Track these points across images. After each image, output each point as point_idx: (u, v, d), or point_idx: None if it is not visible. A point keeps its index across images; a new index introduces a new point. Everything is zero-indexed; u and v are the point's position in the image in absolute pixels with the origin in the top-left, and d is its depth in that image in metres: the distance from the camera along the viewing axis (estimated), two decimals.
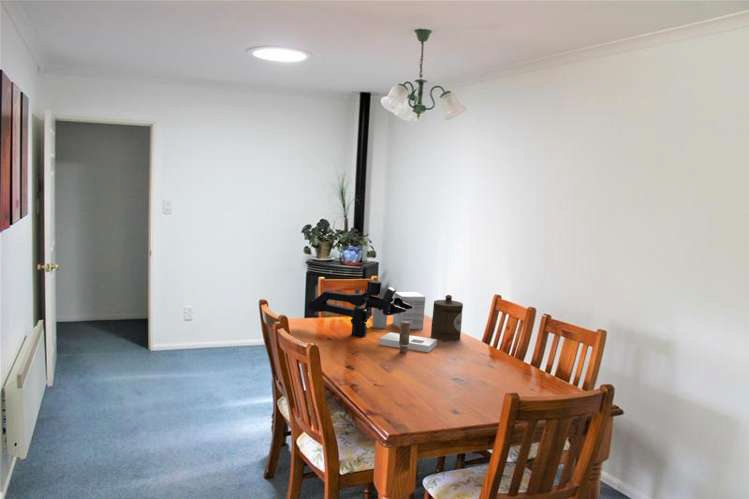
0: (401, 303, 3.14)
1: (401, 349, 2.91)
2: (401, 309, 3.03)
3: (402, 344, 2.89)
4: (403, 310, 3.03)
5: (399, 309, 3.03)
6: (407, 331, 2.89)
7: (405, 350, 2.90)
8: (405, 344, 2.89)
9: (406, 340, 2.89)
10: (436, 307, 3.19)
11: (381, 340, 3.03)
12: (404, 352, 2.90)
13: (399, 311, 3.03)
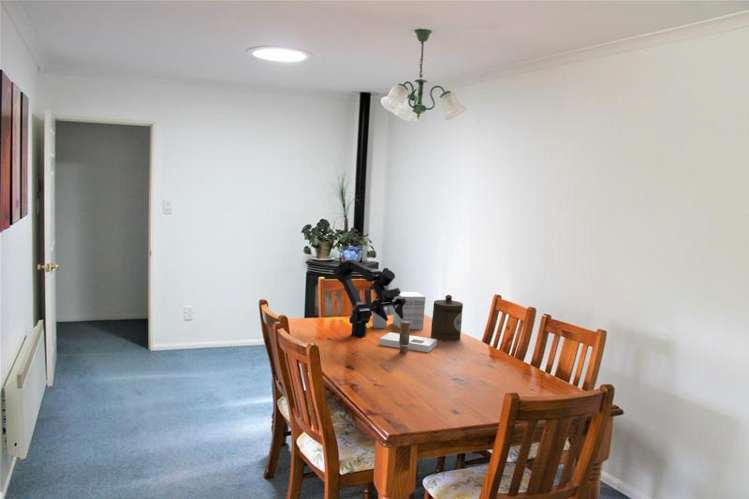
0: (398, 307, 3.02)
1: (401, 349, 2.91)
2: (384, 316, 2.94)
3: (402, 344, 2.89)
4: (385, 318, 2.94)
5: (383, 315, 2.94)
6: (407, 331, 2.89)
7: (405, 350, 2.90)
8: (405, 344, 2.89)
9: (406, 340, 2.89)
10: (436, 307, 3.19)
11: (381, 340, 3.03)
12: (404, 352, 2.90)
13: (382, 316, 2.95)
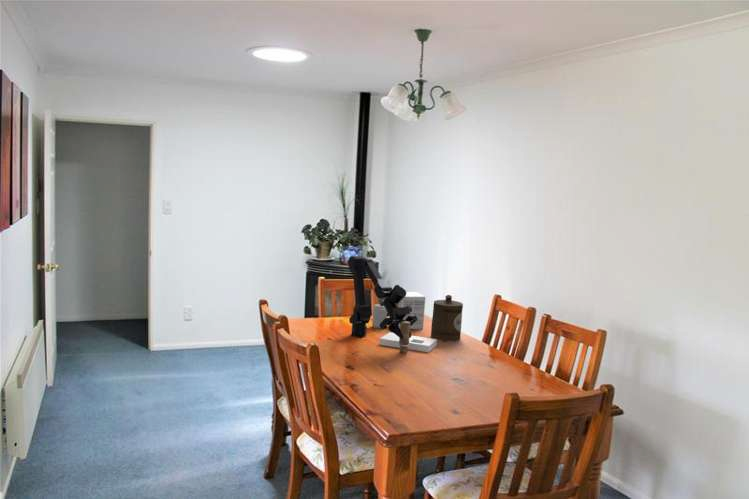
0: None
1: (401, 349, 2.91)
2: (399, 334, 2.89)
3: (402, 344, 2.89)
4: (400, 336, 2.89)
5: (398, 333, 2.89)
6: (407, 331, 2.89)
7: (405, 350, 2.90)
8: (405, 344, 2.89)
9: (406, 340, 2.89)
10: (436, 307, 3.19)
11: (381, 340, 3.03)
12: (404, 352, 2.90)
13: (397, 334, 2.90)
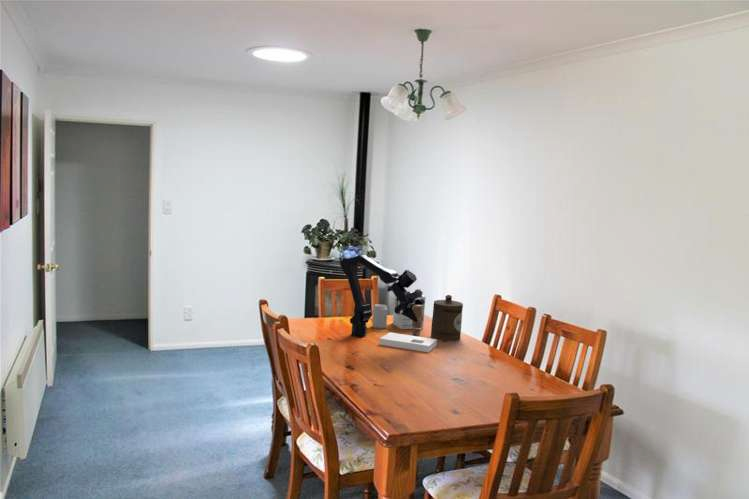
0: None
1: (415, 332, 2.98)
2: (414, 318, 2.96)
3: (416, 327, 2.97)
4: (414, 320, 2.96)
5: (412, 316, 2.96)
6: (421, 314, 2.97)
7: (418, 333, 2.98)
8: (419, 327, 2.97)
9: (420, 323, 2.97)
10: (436, 307, 3.19)
11: (381, 340, 3.03)
12: (418, 335, 2.98)
13: (411, 317, 2.96)
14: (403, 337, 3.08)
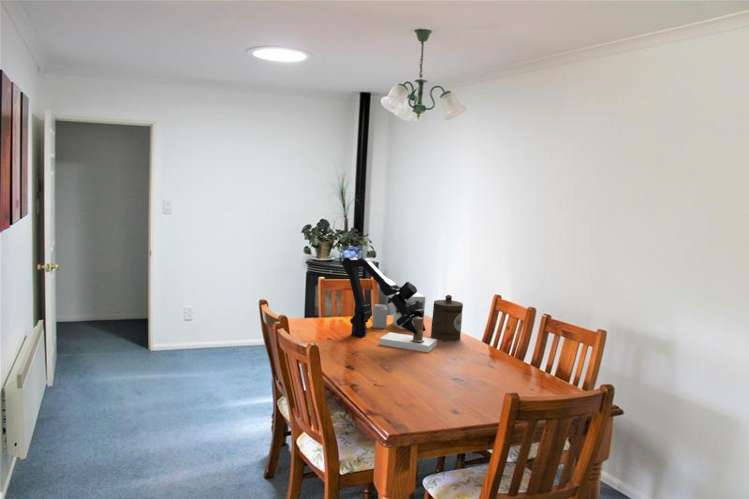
0: None
1: None
2: (413, 330, 2.97)
3: (418, 339, 3.00)
4: (414, 332, 2.97)
5: (412, 328, 2.97)
6: (422, 326, 3.00)
7: None
8: (420, 339, 3.00)
9: (421, 335, 3.00)
10: (436, 307, 3.19)
11: (381, 340, 3.03)
12: None
13: (411, 330, 2.97)
14: (403, 337, 3.08)
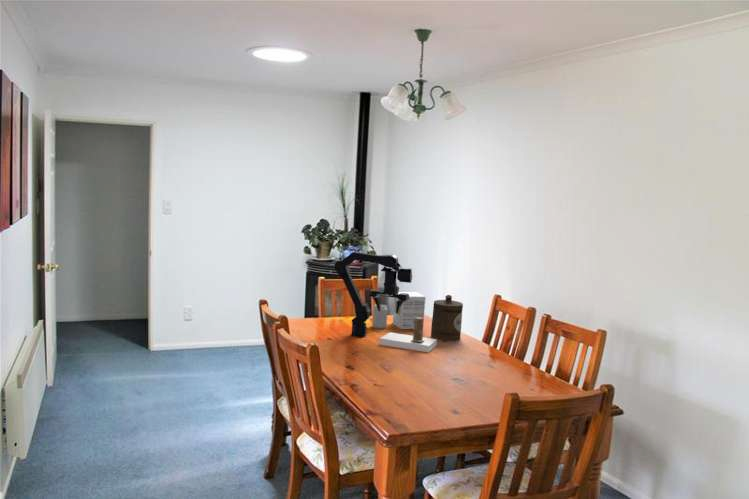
0: (379, 299, 3.16)
1: None
2: (399, 309, 3.12)
3: (418, 339, 3.00)
4: (398, 311, 3.12)
5: (399, 307, 3.12)
6: (422, 326, 3.00)
7: None
8: (420, 339, 3.00)
9: (421, 335, 3.00)
10: (436, 307, 3.19)
11: (381, 340, 3.03)
12: None
13: (399, 308, 3.11)
14: (403, 337, 3.08)
